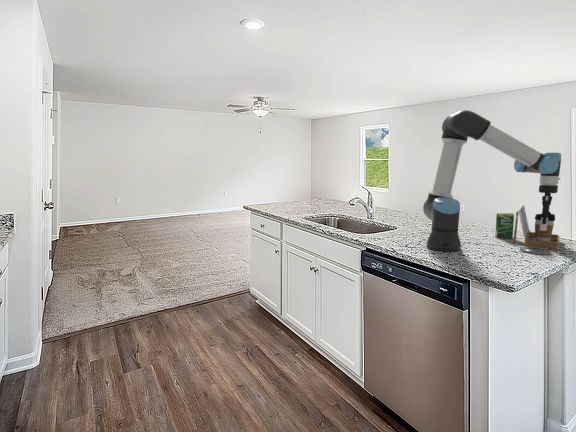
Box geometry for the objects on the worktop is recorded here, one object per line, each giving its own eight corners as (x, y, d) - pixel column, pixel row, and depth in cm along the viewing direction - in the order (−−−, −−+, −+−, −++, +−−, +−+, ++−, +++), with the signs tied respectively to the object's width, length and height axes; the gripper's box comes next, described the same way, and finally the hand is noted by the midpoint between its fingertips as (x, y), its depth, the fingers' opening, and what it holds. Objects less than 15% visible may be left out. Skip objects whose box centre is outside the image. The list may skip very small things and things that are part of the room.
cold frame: (558, 250, 171) (563, 212, 168) (512, 244, 182) (515, 209, 179) (559, 241, 188) (563, 207, 185) (516, 236, 199) (519, 204, 196)
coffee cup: (555, 246, 179) (559, 215, 176) (536, 245, 180) (539, 215, 178) (547, 242, 187) (550, 213, 184) (528, 241, 188) (532, 212, 186)
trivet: (542, 256, 161) (542, 254, 161) (514, 250, 171) (514, 249, 171) (556, 252, 167) (556, 251, 167) (528, 247, 177) (528, 245, 177)
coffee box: (496, 237, 197) (498, 213, 195) (494, 236, 200) (496, 212, 198) (512, 238, 196) (515, 214, 193) (510, 237, 198) (513, 213, 196)
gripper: (557, 186, 167) (552, 233, 171) (558, 183, 186) (553, 225, 190) (538, 185, 171) (533, 231, 175) (540, 182, 190) (536, 224, 194)
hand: (543, 228), depth 182 cm, fingers open, 12 cm apart
